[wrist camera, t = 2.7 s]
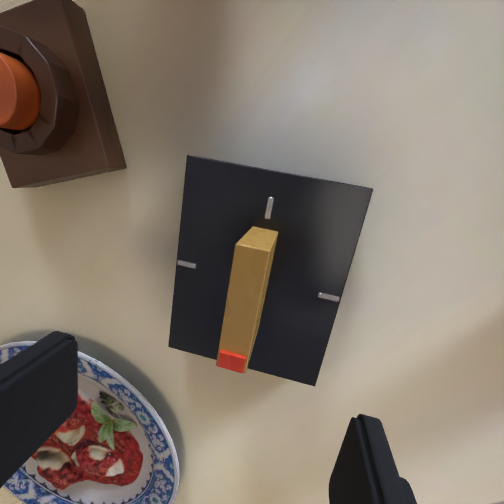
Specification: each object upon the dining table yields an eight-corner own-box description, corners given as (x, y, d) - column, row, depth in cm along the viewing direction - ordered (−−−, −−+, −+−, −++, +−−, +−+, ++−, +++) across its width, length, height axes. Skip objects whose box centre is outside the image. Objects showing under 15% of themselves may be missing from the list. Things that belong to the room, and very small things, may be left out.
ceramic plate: (52, 520, 37) (32, 549, 34) (-57, 359, 32) (-91, 377, 30) (223, 506, 31) (215, 539, 28) (119, 301, 26) (97, 317, 23)
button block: (-14, 44, 22) (-81, 17, 18) (84, 9, 20) (31, -31, 16) (36, 187, 24) (-13, 189, 20) (127, 168, 22) (91, 166, 19)
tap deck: (202, 157, 21) (185, 154, 18) (363, 186, 20) (374, 189, 17) (183, 327, 25) (167, 348, 22) (313, 361, 24) (315, 388, 21)
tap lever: (252, 225, 19) (233, 244, 14) (278, 231, 18) (269, 252, 14) (235, 322, 21) (214, 368, 16) (258, 328, 21) (244, 377, 16)
